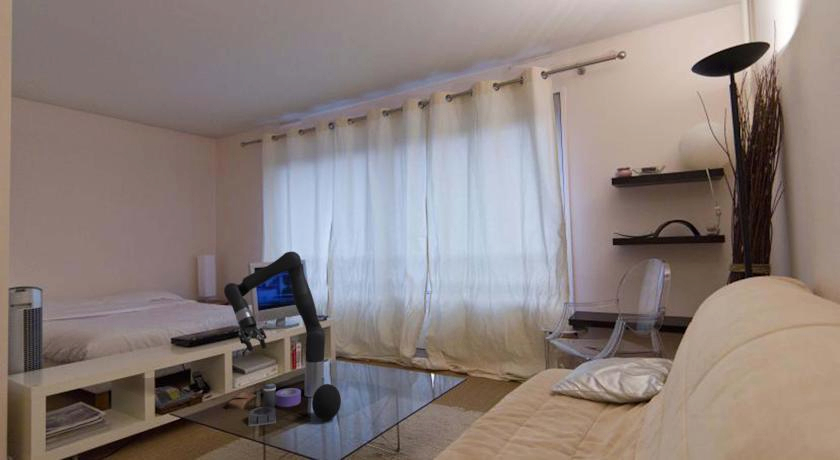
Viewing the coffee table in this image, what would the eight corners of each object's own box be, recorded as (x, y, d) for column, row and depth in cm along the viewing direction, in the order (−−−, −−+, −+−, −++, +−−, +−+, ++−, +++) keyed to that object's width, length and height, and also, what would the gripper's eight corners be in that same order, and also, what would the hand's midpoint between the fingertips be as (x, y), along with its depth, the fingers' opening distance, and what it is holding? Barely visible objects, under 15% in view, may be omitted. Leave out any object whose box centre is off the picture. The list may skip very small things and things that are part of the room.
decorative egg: (325, 427, 170) (327, 391, 171) (305, 420, 177) (306, 385, 178) (346, 418, 181) (347, 383, 182) (325, 411, 187) (327, 378, 188)
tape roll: (277, 408, 190) (277, 397, 190) (273, 400, 200) (273, 389, 201) (302, 404, 195) (303, 394, 196) (298, 396, 206) (298, 386, 206)
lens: (274, 406, 191) (275, 382, 192) (275, 411, 186) (276, 386, 187) (262, 408, 189) (263, 383, 190) (262, 412, 184) (263, 387, 185)
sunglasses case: (244, 409, 187) (237, 396, 188) (230, 417, 187) (223, 404, 187) (258, 395, 205) (251, 383, 206) (245, 402, 205) (239, 390, 205)
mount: (274, 413, 184) (275, 405, 184) (276, 423, 174) (276, 414, 174) (248, 416, 180) (249, 408, 180) (248, 426, 170) (249, 417, 170)
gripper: (239, 316, 193) (252, 347, 188) (261, 314, 206) (274, 343, 201) (229, 324, 195) (241, 355, 190) (251, 322, 208) (263, 351, 203)
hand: (258, 349), depth 195 cm, fingers open, 8 cm apart
